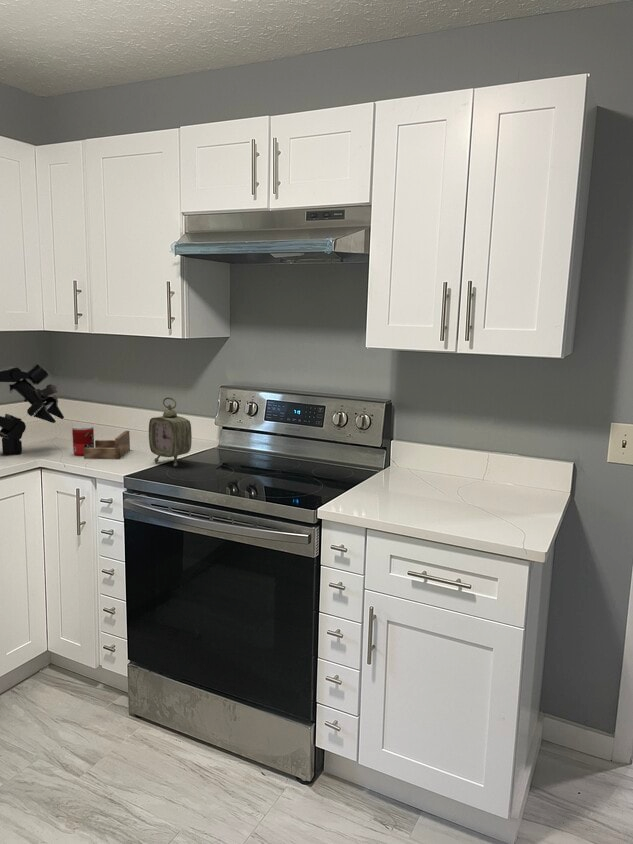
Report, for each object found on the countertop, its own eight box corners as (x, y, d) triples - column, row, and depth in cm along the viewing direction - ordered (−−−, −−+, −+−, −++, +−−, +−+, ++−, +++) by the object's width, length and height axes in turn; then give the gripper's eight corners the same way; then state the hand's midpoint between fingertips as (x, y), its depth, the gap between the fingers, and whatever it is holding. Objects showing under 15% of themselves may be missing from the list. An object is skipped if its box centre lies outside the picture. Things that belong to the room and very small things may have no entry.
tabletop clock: (149, 462, 241) (147, 396, 236) (167, 458, 248) (166, 394, 244) (175, 468, 232) (174, 400, 228) (194, 464, 240) (193, 397, 235)
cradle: (84, 458, 245) (83, 438, 244) (96, 449, 261) (95, 430, 260) (119, 458, 246) (119, 438, 244) (129, 449, 262) (129, 430, 260)
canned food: (88, 456, 249) (87, 428, 247) (69, 455, 250) (68, 427, 248) (98, 452, 256) (97, 425, 254) (79, 451, 257) (78, 424, 255)
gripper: (33, 381, 242) (64, 410, 245) (51, 375, 261) (80, 402, 263) (13, 401, 243) (45, 430, 246) (33, 394, 262) (62, 421, 264)
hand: (59, 420), depth 255 cm, fingers open, 9 cm apart
